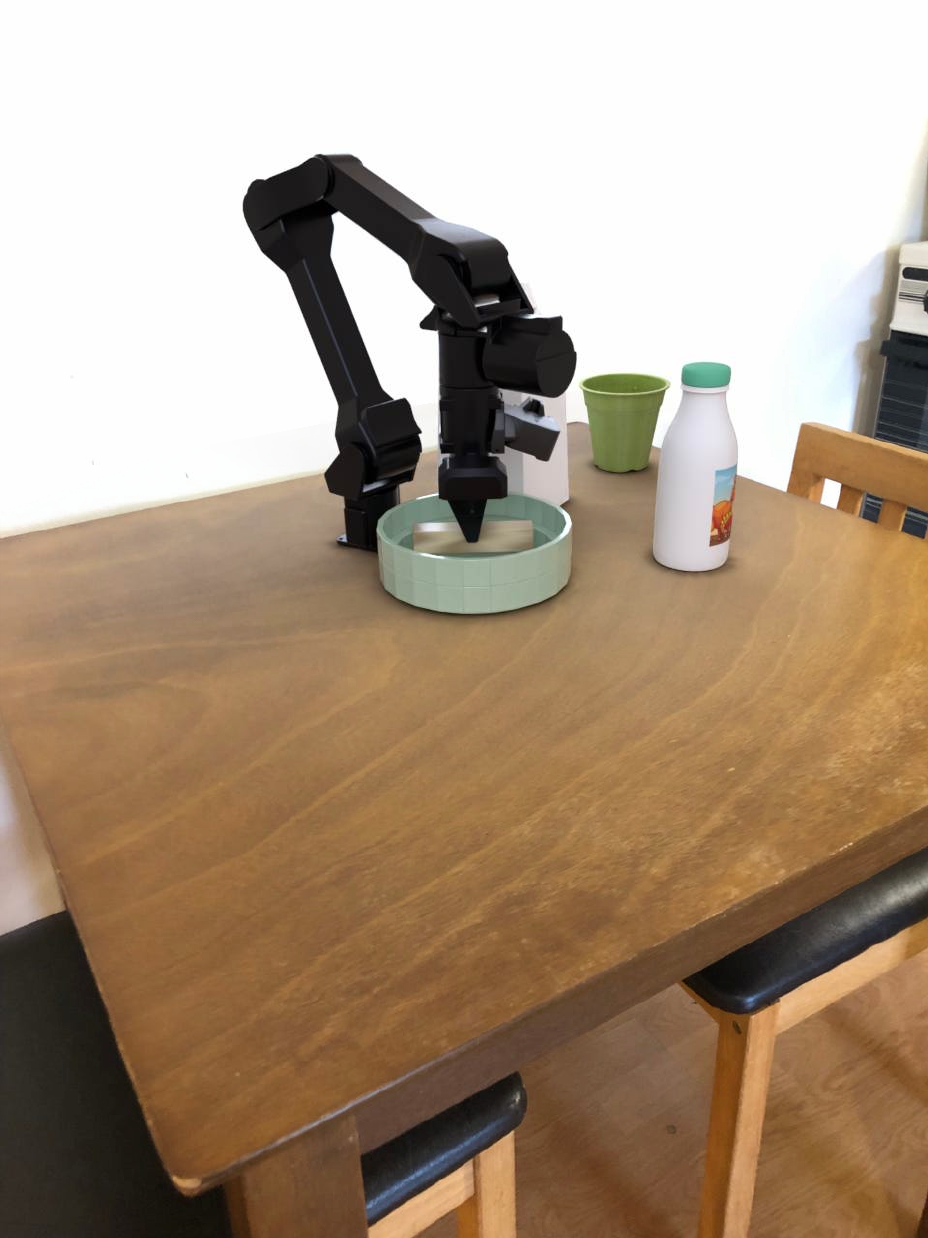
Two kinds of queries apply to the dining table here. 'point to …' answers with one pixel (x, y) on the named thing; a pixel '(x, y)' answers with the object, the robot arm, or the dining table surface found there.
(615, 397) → the plant pot
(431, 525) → the stick
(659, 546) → the milk bottle
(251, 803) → the dining table surface
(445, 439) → the robot arm
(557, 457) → the milk
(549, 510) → the bowl
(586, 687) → the dining table surface
